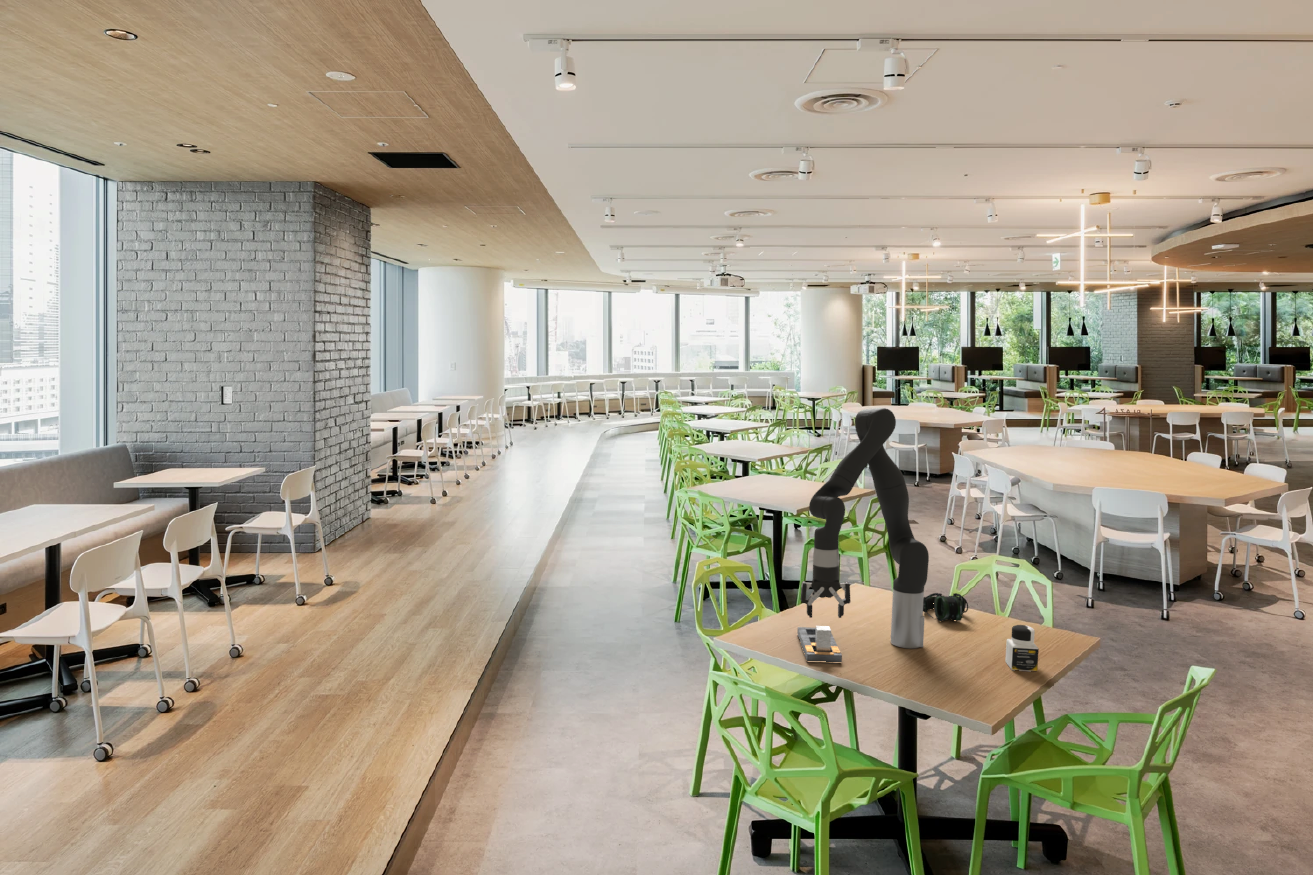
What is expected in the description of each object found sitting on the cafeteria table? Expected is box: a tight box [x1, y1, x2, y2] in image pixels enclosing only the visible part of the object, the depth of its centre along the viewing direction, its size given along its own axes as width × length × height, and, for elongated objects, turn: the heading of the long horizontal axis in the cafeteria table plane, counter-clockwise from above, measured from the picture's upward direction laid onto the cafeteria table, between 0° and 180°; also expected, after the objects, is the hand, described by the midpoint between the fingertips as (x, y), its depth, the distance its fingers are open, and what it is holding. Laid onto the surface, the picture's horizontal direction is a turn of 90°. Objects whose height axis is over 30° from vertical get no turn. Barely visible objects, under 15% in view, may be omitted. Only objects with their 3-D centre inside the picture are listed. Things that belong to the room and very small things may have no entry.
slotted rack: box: [796, 626, 843, 662], centre depth 260 cm, size 10×25×3 cm, turn 177°
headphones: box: [923, 592, 969, 622], centre depth 295 cm, size 13×13×20 cm
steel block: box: [815, 625, 832, 652], centre depth 252 cm, size 4×4×9 cm
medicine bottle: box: [1005, 624, 1040, 672], centre depth 247 cm, size 7×7×12 cm
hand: (824, 617), depth 251 cm, fingers open, 8 cm apart
